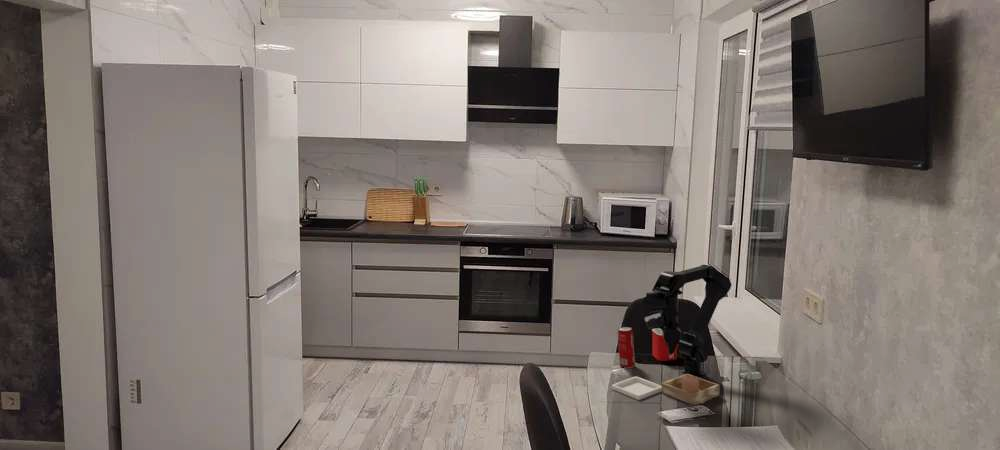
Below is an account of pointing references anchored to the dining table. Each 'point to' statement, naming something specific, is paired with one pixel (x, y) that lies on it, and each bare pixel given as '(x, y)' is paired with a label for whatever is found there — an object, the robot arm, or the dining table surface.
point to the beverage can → (626, 347)
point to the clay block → (690, 384)
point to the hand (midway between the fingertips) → (669, 349)
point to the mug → (661, 347)
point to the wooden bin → (675, 390)
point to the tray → (636, 387)
